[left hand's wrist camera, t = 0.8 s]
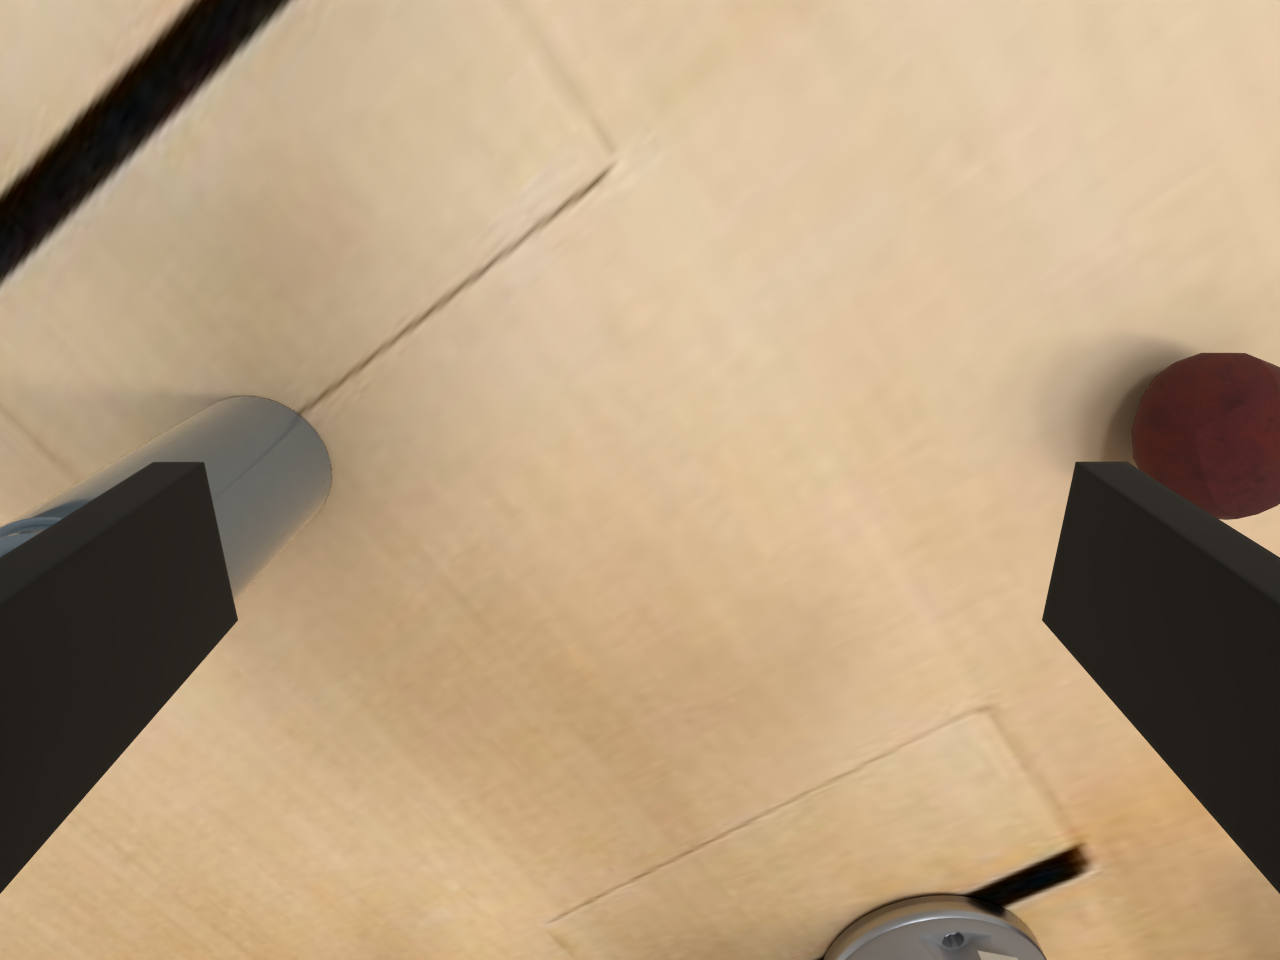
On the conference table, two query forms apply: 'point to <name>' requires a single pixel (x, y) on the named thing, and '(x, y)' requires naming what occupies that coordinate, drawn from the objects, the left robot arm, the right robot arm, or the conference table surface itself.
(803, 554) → the conference table surface
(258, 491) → the bottle
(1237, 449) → the dark red ball
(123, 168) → the conference table surface
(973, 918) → the right robot arm
